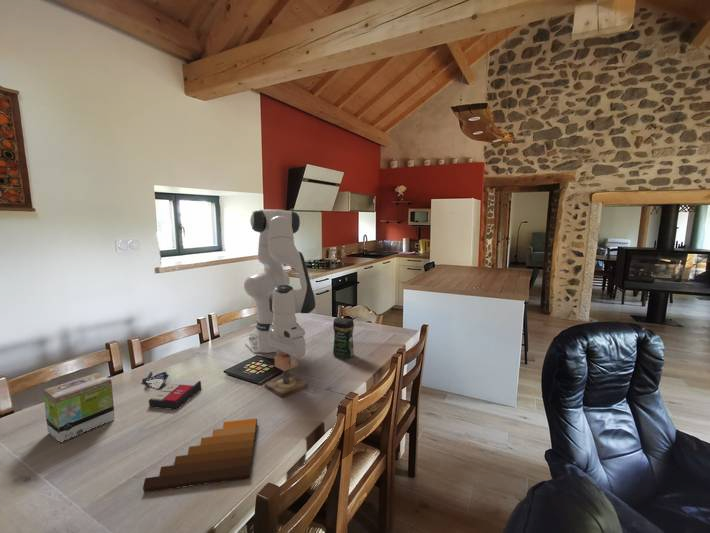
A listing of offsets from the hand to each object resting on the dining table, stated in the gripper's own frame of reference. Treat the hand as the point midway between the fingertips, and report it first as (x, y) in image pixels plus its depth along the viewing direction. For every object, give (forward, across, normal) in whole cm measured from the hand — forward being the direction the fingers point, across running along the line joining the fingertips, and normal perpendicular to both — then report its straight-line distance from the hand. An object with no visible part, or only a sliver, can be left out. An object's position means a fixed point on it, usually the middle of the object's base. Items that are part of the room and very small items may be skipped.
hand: (286, 362), depth 138 cm
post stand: (+10, 0, 0) cm, 10 cm away
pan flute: (+11, +16, -39) cm, 43 cm away
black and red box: (+11, -23, -33) cm, 42 cm away
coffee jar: (+11, -6, +37) cm, 39 cm away
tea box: (+10, -26, -61) cm, 67 cm away
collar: (+2, 0, 0) cm, 2 cm away
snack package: (+10, -41, -35) cm, 55 cm away
